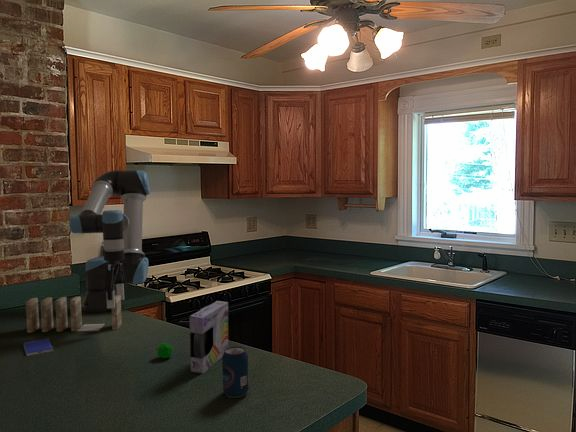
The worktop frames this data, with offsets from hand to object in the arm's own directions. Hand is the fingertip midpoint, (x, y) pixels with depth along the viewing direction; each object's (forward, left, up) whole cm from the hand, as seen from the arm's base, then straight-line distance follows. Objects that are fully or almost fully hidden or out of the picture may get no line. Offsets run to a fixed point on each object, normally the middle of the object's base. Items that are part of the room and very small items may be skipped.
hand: (115, 303), depth 196 cm
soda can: (-49, +65, -10) cm, 82 cm away
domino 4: (+16, 0, -9) cm, 18 cm away
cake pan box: (-40, +42, -10) cm, 58 cm away
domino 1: (+32, 0, -9) cm, 33 cm away
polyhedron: (-25, +36, -10) cm, 45 cm away
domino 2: (+27, 0, -9) cm, 28 cm away
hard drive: (+21, +21, -10) cm, 32 cm away
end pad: (+10, 0, -9) cm, 14 cm away
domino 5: (0, 0, -9) cm, 9 cm away
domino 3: (+21, 0, -9) cm, 23 cm away
